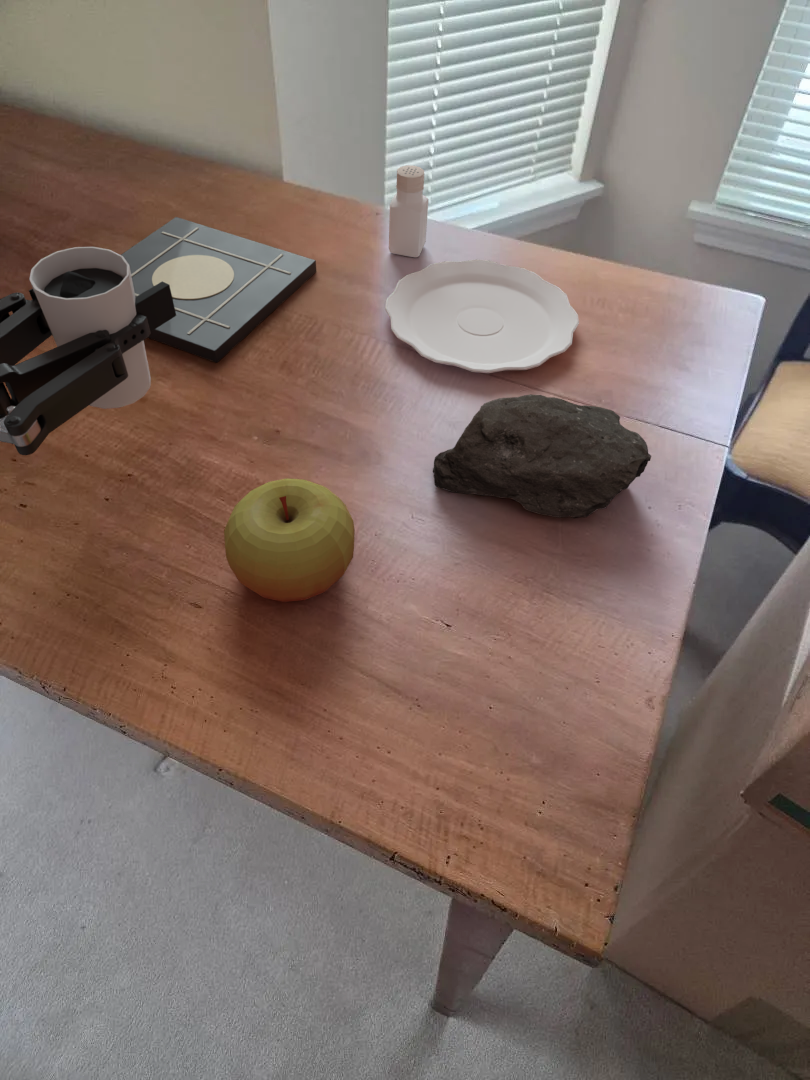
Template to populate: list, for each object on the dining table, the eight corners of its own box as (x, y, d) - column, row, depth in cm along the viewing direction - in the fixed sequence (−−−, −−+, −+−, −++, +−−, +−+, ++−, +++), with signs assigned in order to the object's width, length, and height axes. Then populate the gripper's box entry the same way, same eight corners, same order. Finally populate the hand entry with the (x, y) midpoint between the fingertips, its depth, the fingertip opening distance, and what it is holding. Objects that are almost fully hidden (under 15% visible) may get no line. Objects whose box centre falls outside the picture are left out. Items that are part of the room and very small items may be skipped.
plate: (421, 257, 92) (422, 244, 90) (589, 295, 88) (593, 282, 87) (358, 354, 79) (358, 341, 78) (552, 403, 75) (555, 390, 74)
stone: (437, 516, 61) (448, 392, 59) (427, 492, 70) (436, 383, 67) (652, 528, 63) (672, 408, 60) (617, 504, 71) (634, 397, 69)
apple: (288, 506, 65) (280, 438, 59) (379, 559, 62) (380, 493, 55) (207, 579, 60) (188, 512, 53) (301, 642, 56) (293, 578, 50)
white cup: (59, 410, 58) (15, 296, 50) (83, 356, 62) (46, 243, 54) (146, 415, 58) (116, 302, 50) (164, 361, 62) (139, 249, 55)
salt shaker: (426, 244, 94) (431, 166, 86) (418, 260, 91) (423, 181, 84) (395, 238, 94) (398, 161, 87) (387, 254, 92) (389, 176, 84)
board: (65, 307, 82) (60, 294, 81) (178, 228, 94) (175, 215, 93) (217, 363, 77) (214, 350, 76) (316, 271, 89) (316, 259, 87)
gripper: (-184, 444, 51) (87, 292, 64) (-27, 560, 46) (236, 369, 59) (-253, 354, 46) (59, 207, 58) (-83, 474, 40) (222, 282, 53)
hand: (147, 288), depth 58 cm, fingers closed on white cup, 4 cm apart
